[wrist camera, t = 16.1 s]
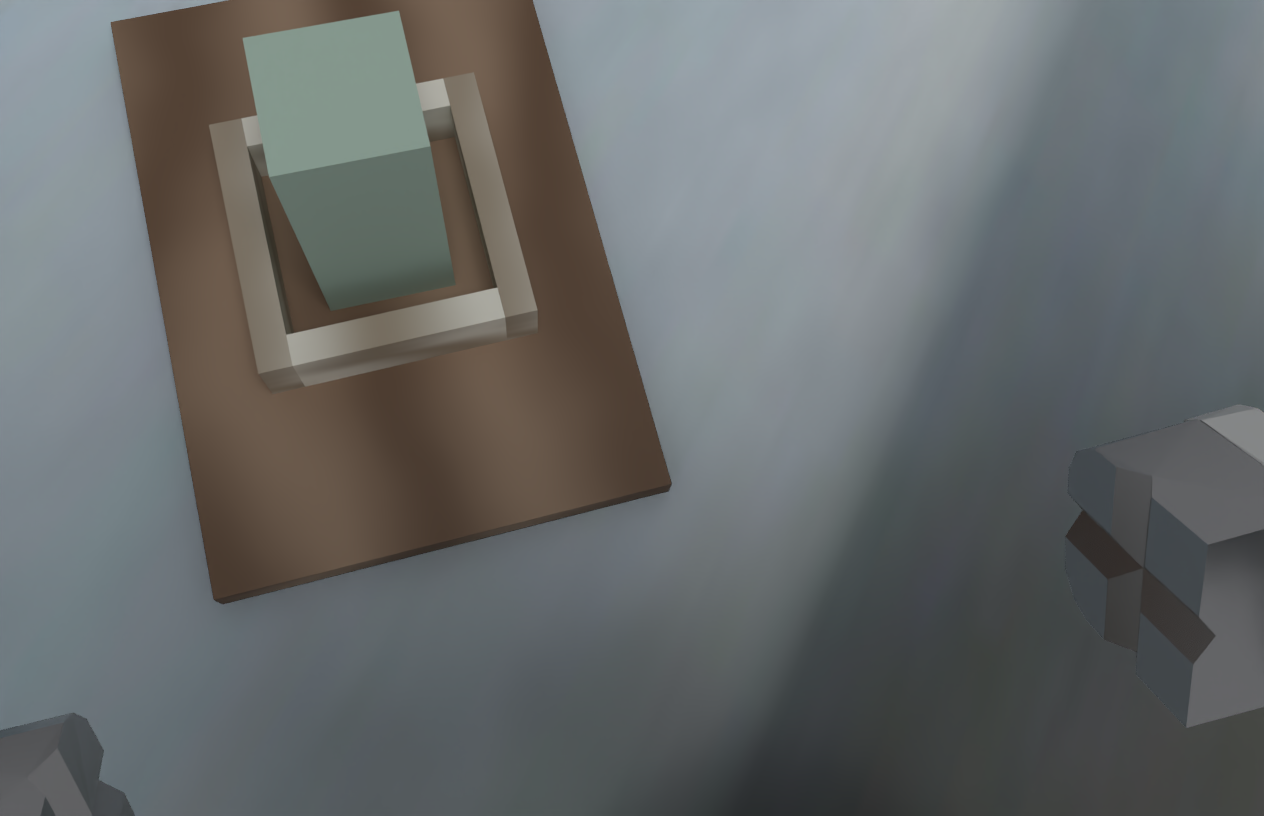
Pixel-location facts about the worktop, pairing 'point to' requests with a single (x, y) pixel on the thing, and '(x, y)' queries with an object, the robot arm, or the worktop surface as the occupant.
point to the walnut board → (382, 308)
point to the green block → (351, 157)
